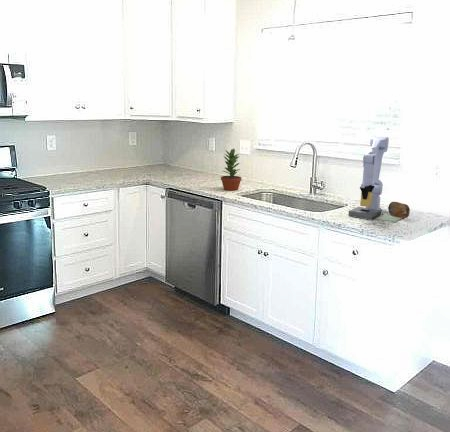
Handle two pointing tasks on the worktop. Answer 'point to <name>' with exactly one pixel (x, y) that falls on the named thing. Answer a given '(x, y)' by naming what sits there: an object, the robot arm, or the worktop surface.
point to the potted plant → (231, 173)
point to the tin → (399, 210)
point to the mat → (388, 218)
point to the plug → (368, 201)
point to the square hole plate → (365, 213)
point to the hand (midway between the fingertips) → (366, 198)
